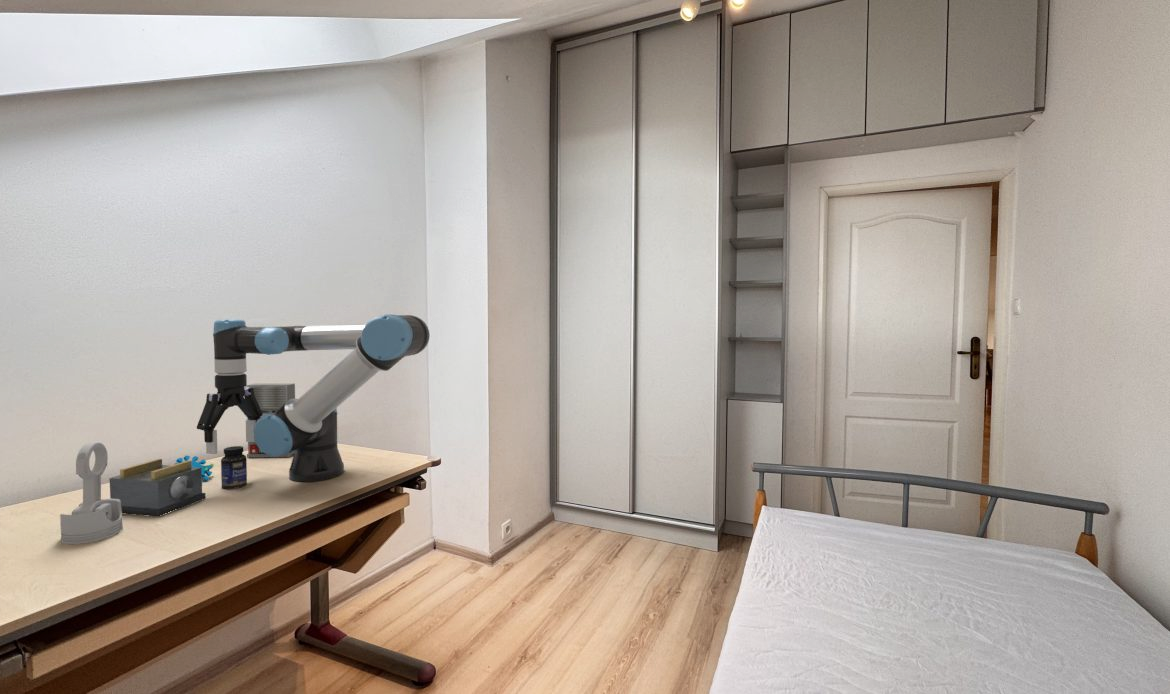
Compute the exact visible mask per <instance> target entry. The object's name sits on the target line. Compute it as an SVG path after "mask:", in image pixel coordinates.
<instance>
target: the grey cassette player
mask: <svg viewBox="0 0 1170 694" xmlns="http://www.w3.org/2000/svg"><path fill="white" fill-rule="evenodd" d="M245 387H248V388H253V389H254V395H255V398H256V400H257V402H258V404H259V407H260V409H261V411H262V413H263V415H262V416H260V418H261V417H263V416H265V415H267V414H272V413H274V412H276V411H277V410H278V409H279V408H280V407H281V406H282V405H284V404H285V403H286V402H287V401H289V400H290V399H296V385H295V383H291V382H290V383H282V382H281V383H276V382H275V383H259V382H258V383H251V384H247V385H246V386H245ZM256 412H257V411H256ZM246 420H249V419H248V418H247V417H246ZM257 421H258V420H257ZM247 448H248V449H247V450H248V453H247V454H246V459H247V458H249V457H253V458H287V457H288V458H290V457H292V456H294V455H293V454H295V450H294V451H291V452H289V453H288V454H286V455H285V454H284V455H280V456H271V455H267V454H265V453H264V452H262V451H261V450H260V449H259V448H258V446H257V445H256V443H255V442H247Z"/></svg>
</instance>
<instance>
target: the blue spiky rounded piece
mask: <svg viewBox="0 0 1170 694" xmlns="http://www.w3.org/2000/svg"><path fill="white" fill-rule="evenodd" d="M190 458H191V457H190V455H184V457H178V458H177V459H176V460H175V463H174V464H173V465H175V464H178V463H182V462H185V461H191V467H199V468H201V472H202V482H208V481H209V479H210V477H211V475H212V474H213V471H210V470H211V469H213V467H215V465H214V463H210V464H207V465H205V464H206V463H207V460H205V459H201V460H200V461H198V460H199V457H198V456H196V455H193V457H192V458H191V459H192V460H190Z"/></svg>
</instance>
